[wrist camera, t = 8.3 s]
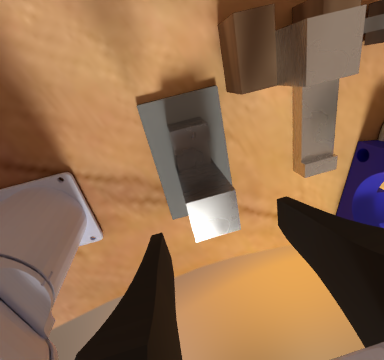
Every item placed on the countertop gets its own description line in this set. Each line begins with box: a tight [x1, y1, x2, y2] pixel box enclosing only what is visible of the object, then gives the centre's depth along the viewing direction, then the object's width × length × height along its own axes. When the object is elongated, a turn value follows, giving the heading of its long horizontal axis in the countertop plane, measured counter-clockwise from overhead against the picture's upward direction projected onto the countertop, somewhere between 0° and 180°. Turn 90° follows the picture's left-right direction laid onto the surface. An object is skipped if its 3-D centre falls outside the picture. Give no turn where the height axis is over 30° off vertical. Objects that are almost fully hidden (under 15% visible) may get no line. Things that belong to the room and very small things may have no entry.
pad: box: [137, 86, 232, 220], centre depth 21 cm, size 7×12×1 cm, turn 12°
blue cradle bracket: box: [336, 140, 384, 228], centre depth 24 cm, size 12×4×6 cm, turn 1°
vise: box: [218, 0, 384, 94], centre depth 17 cm, size 14×5×4 cm, turn 102°
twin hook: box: [275, 4, 367, 178], centre depth 18 cm, size 7×13×7 cm, turn 12°
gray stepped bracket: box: [167, 116, 241, 242], centre depth 18 cm, size 4×8×7 cm, turn 12°
